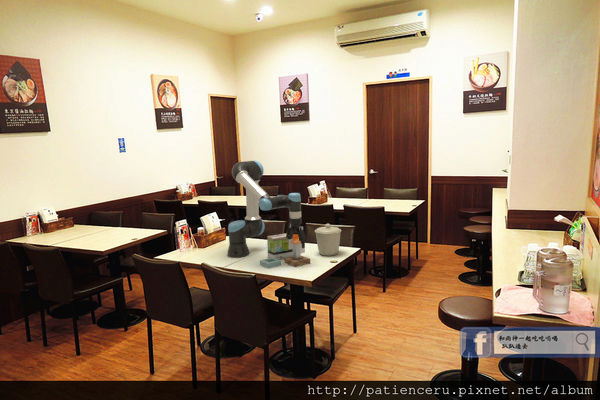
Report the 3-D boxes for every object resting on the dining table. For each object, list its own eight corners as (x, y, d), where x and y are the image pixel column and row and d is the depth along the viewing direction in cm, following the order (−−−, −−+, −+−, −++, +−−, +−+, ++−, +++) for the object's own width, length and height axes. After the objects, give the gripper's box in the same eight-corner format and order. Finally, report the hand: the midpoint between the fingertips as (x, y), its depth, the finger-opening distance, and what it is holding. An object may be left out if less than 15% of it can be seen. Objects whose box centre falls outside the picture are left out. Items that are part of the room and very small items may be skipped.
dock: (284, 262, 258) (284, 258, 257) (299, 259, 265) (299, 254, 264) (295, 267, 248) (294, 262, 248) (310, 263, 255) (310, 258, 254)
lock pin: (292, 262, 257) (291, 241, 255) (297, 261, 259) (297, 240, 257) (296, 264, 253) (295, 242, 251) (302, 263, 256) (301, 241, 254)
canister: (311, 256, 270) (310, 225, 267) (321, 249, 286) (320, 220, 283) (336, 258, 262) (335, 227, 259) (345, 251, 278) (344, 221, 275)
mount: (259, 264, 255) (259, 260, 255) (273, 261, 261) (272, 257, 260) (268, 268, 247) (267, 263, 247) (281, 265, 253) (281, 260, 252)
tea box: (274, 260, 263) (273, 238, 261) (267, 257, 272) (266, 236, 270) (294, 256, 271) (293, 235, 269) (286, 253, 280) (285, 232, 278)
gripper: (279, 216, 260) (281, 248, 263) (302, 221, 240) (303, 255, 243) (289, 214, 264) (290, 246, 267) (312, 219, 244) (313, 253, 248)
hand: (296, 250), depth 255 cm, fingers open, 12 cm apart
